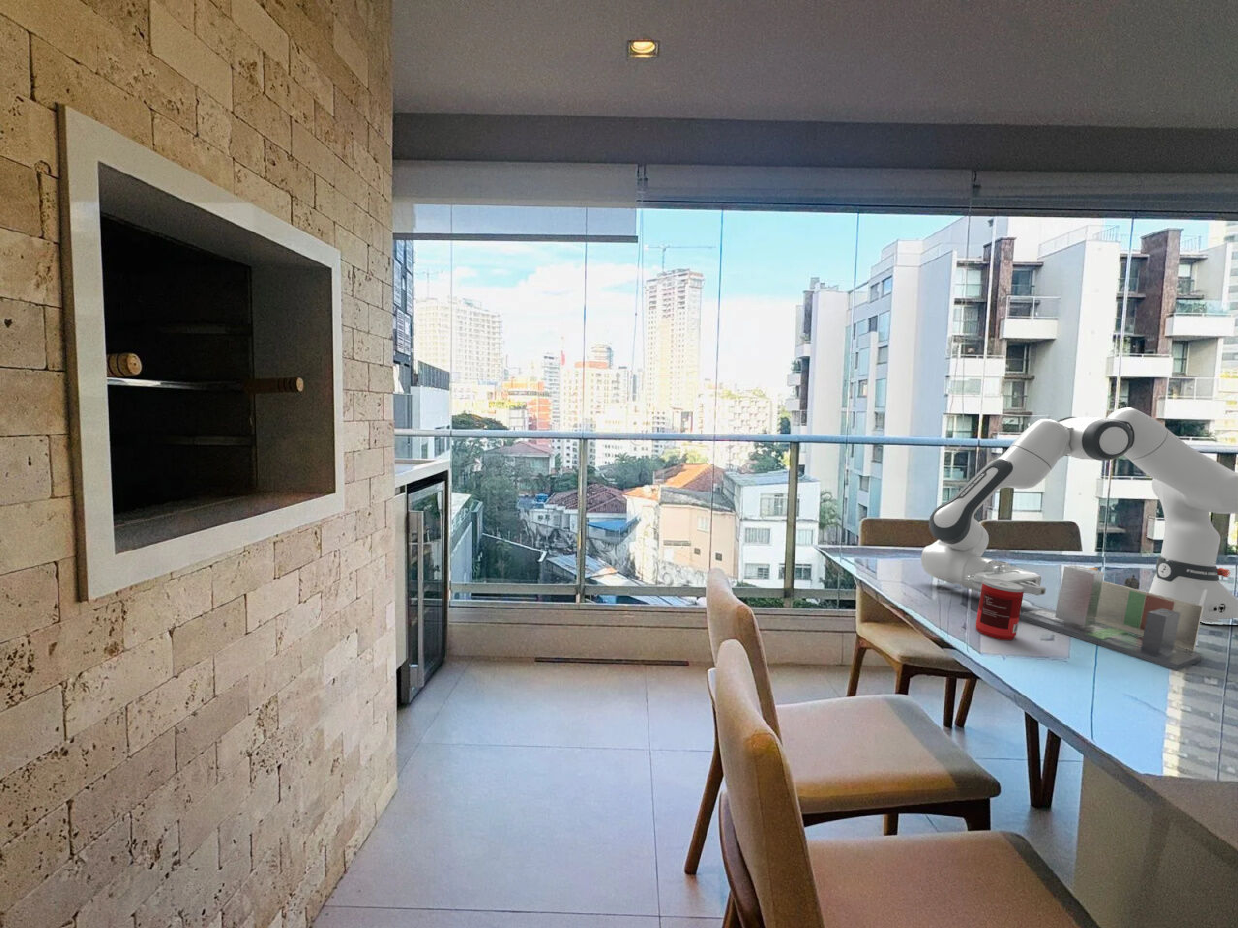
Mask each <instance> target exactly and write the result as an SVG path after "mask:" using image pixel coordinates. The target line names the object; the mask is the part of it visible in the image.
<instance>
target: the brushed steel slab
mask: <svg viewBox="0 0 1238 928" xmlns="http://www.w3.org/2000/svg"><path fill="white" fill-rule="evenodd" d="M1098 569H1099V568H1098V567H1088V568H1087V567H1084V566H1079V565H1075V564H1072V565H1066V566H1065V565H1064V567H1063V572H1062V577H1061V583H1060V589H1059V593H1058V599H1057V605H1056V609H1055V611H1056V615H1055V618H1059V619H1062V620H1065V621H1068V622H1072V623H1075V624H1078V625H1081V626H1084V627H1085V626H1089V625H1093V624H1095V623H1096V622H1095V618H1096V613H1097V608H1098V603H1099V597H1100V592H1101V587H1102V581H1104V574H1105V572H1104V571H1099V570H1098Z"/></svg>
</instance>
